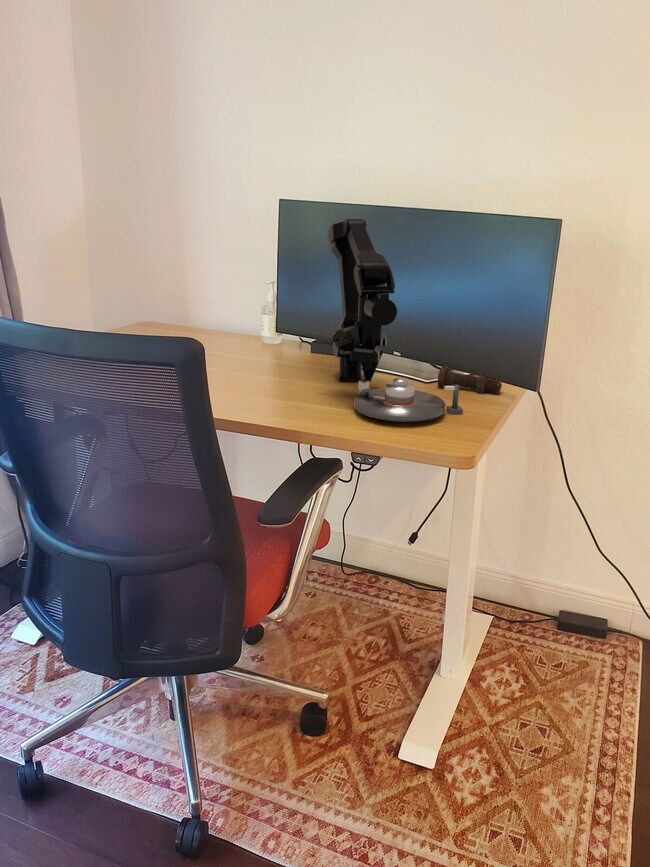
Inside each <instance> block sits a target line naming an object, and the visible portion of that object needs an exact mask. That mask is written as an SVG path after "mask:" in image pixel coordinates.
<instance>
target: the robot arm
mask: <svg viewBox="0 0 650 867" xmlns="http://www.w3.org/2000/svg"><path fill="white" fill-rule="evenodd" d="M327 240H328V243H330V250H331V252H332V254H333V255H334V257H335V258H336V259H337V260H338V271H339V272H338V274H339V284H340V286H339V287H340V297H341V298H340V299H341V300H340V301H341V310H342V319H341V320H340V323H339V325H338V327H337V329H336V330H335V331H334V332H333V333H331V336H332V354H333V355H334V356H335V357H336V358H339V362H338V364H339V366H338V367H339V368H338V372H336V377H337V381H338V382H359V380H369V384H370V383H371V381H372V379H373V377H374V375H375V372H376V370H377V368H378V365H379V363H380V361H381V358H382V356H383V353H384V351H383V350H381V349H380V347H381V346H382V347H386V346H387V340H388V337H387V335H386V334H385V333H384V332H383V330H384V329H383V328H384V326H389V325H390V324H392V323H393V322H394V321H395V320H396V318H397V314H398V309H397V305H396V304H395V303H394V301H392V300H391V299H390V294H395V287H396V283H395V278H394V275H393V272H392V268H391V266H390V265H389V263H388V261H387V260H386V258H385V257H384V255H383V254H380V253H379V252H376V249H375V247H374V245H373V242H372V240H371V237H370V234H369V232H368V230H367V222H366V220H365V219H363V218H346V219H344V220H343V221H340V222H336V223H332V225H330V226H329V227H328V231H327ZM362 373H363V374H362Z"/></svg>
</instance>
